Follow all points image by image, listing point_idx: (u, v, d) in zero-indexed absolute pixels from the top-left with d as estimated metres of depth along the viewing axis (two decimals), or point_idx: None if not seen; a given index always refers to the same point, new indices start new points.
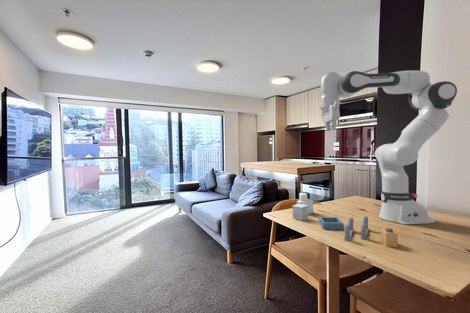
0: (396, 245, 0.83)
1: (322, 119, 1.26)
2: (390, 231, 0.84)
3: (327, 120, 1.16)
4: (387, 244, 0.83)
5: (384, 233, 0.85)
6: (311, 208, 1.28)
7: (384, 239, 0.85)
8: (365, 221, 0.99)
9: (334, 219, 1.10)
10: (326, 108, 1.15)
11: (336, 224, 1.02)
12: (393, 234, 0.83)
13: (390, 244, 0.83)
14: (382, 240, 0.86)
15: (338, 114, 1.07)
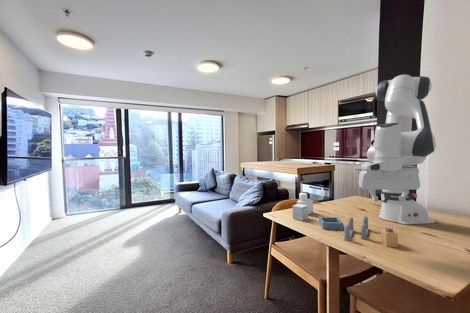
0: (396, 245, 0.83)
1: (364, 183, 0.84)
2: (390, 231, 0.84)
3: (392, 188, 0.82)
4: (387, 244, 0.83)
5: (384, 233, 0.85)
6: (311, 208, 1.28)
7: (384, 239, 0.85)
8: (365, 221, 0.99)
9: (334, 219, 1.10)
10: (397, 171, 0.81)
11: (336, 224, 1.02)
12: (393, 234, 0.83)
13: (390, 244, 0.83)
14: (382, 240, 0.86)
15: None
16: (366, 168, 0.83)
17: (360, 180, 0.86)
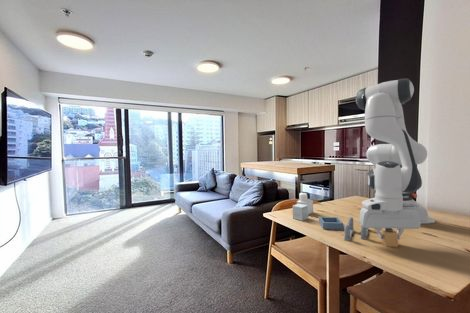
0: (396, 244, 0.83)
1: (365, 222, 0.84)
2: (390, 231, 0.84)
3: (393, 227, 0.83)
4: (387, 244, 0.83)
5: (384, 233, 0.85)
6: (311, 208, 1.28)
7: (384, 239, 0.85)
8: None
9: (334, 219, 1.10)
10: (397, 211, 0.82)
11: (336, 224, 1.02)
12: (393, 234, 0.83)
13: (390, 244, 0.83)
14: (382, 240, 0.86)
15: None
16: (367, 207, 0.84)
17: (360, 217, 0.87)
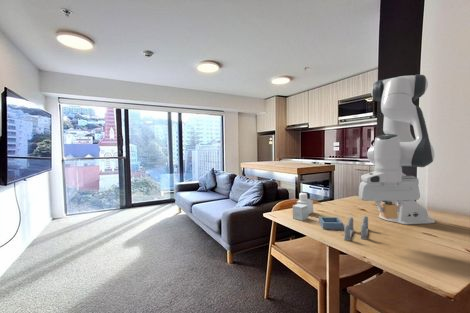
0: (396, 217, 0.83)
1: (364, 195, 0.84)
2: (390, 203, 0.84)
3: (392, 199, 0.83)
4: (387, 216, 0.83)
5: (384, 206, 0.84)
6: (311, 208, 1.28)
7: (383, 212, 0.85)
8: (365, 221, 0.99)
9: (334, 219, 1.10)
10: (397, 183, 0.82)
11: (336, 224, 1.02)
12: (393, 206, 0.83)
13: (390, 216, 0.83)
14: (382, 213, 0.86)
15: None
16: (366, 180, 0.84)
17: (360, 191, 0.87)
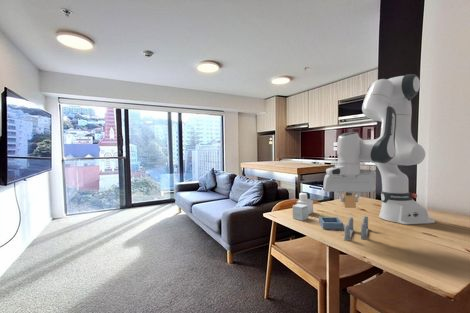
0: (354, 206, 0.92)
1: (327, 186, 0.94)
2: (349, 194, 0.93)
3: (351, 190, 0.92)
4: (346, 206, 0.93)
5: (344, 196, 0.94)
6: (311, 208, 1.28)
7: (344, 202, 0.94)
8: (365, 221, 0.99)
9: (334, 219, 1.10)
10: (355, 176, 0.91)
11: (336, 224, 1.02)
12: (351, 196, 0.92)
13: (349, 206, 0.92)
14: (343, 203, 0.96)
15: None
16: (328, 172, 0.93)
17: (324, 183, 0.96)
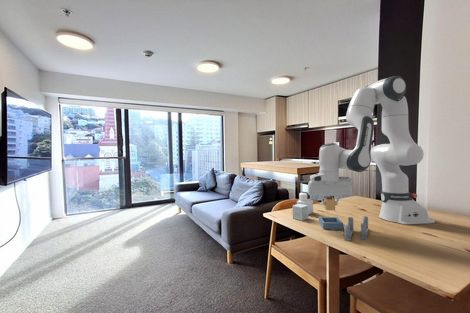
0: (334, 209, 1.04)
1: (310, 191, 1.06)
2: (330, 198, 1.05)
3: (331, 195, 1.04)
4: (327, 208, 1.05)
5: (325, 200, 1.06)
6: (311, 208, 1.28)
7: (325, 205, 1.06)
8: (365, 221, 0.99)
9: (334, 219, 1.10)
10: (334, 182, 1.03)
11: (336, 224, 1.02)
12: (331, 200, 1.04)
13: (329, 208, 1.05)
14: (324, 206, 1.08)
15: None
16: (311, 179, 1.05)
17: (308, 188, 1.08)
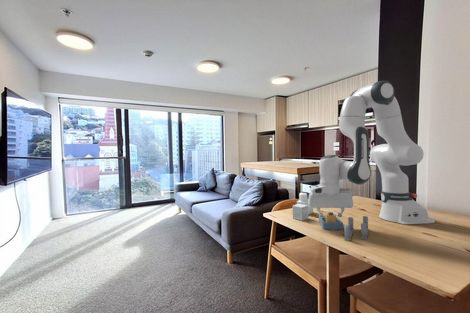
0: None
1: (311, 203, 1.06)
2: (330, 214, 1.05)
3: (332, 206, 1.05)
4: None
5: (326, 216, 1.06)
6: (311, 208, 1.28)
7: (326, 220, 1.06)
8: (365, 221, 0.99)
9: None
10: (335, 194, 1.04)
11: (336, 224, 1.02)
12: (332, 216, 1.04)
13: None
14: (325, 221, 1.08)
15: None
16: (312, 191, 1.05)
17: (308, 200, 1.09)
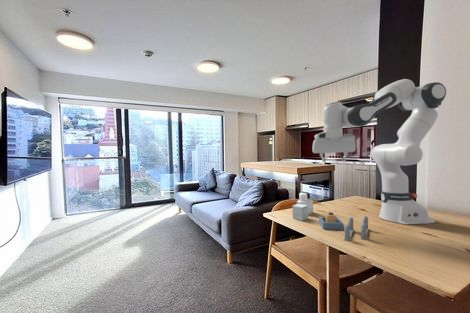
0: None
1: (315, 148, 1.11)
2: (330, 214, 1.05)
3: (335, 151, 1.10)
4: None
5: (326, 216, 1.06)
6: (311, 208, 1.28)
7: (326, 220, 1.06)
8: (365, 221, 0.99)
9: None
10: (338, 138, 1.09)
11: (336, 224, 1.02)
12: (332, 216, 1.04)
13: None
14: (325, 221, 1.08)
15: None
16: (316, 136, 1.11)
17: None
